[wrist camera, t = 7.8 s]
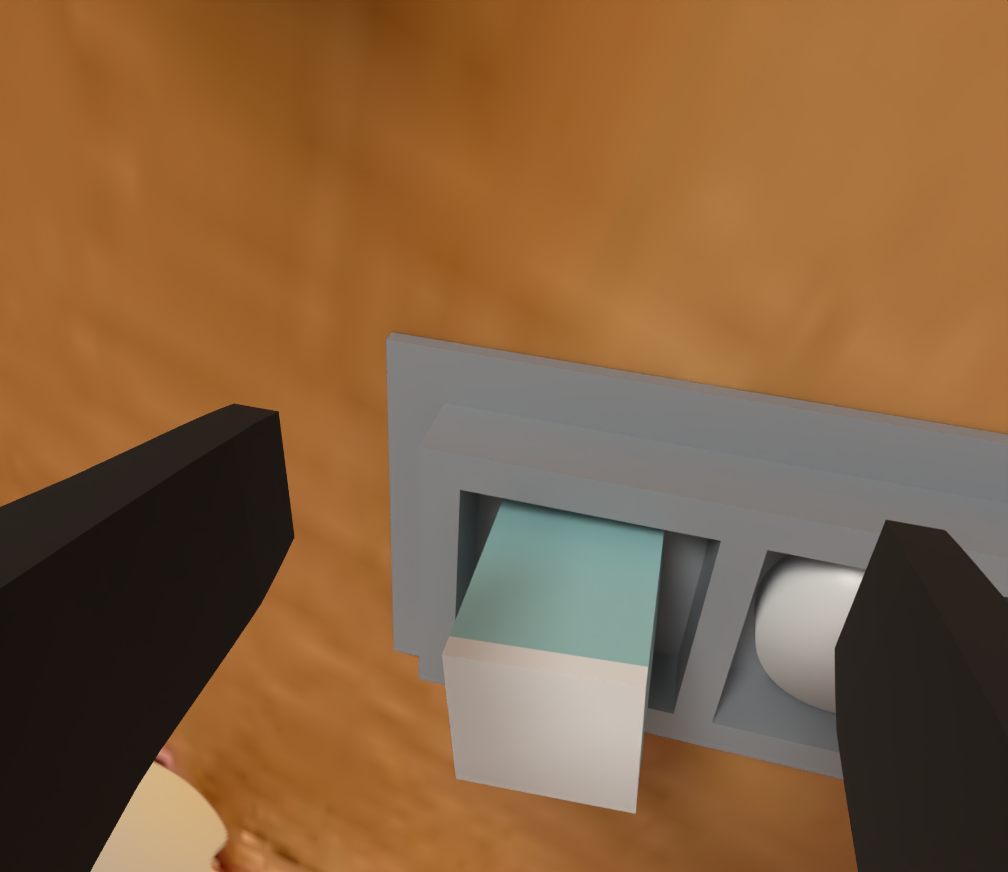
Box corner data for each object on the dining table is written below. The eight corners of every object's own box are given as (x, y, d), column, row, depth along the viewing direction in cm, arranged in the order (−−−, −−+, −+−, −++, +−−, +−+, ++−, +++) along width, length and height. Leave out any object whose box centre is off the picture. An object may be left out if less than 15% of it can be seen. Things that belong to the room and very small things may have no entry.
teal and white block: (667, 497, 20) (646, 687, 15) (658, 614, 22) (635, 813, 17) (510, 480, 21) (441, 654, 16) (515, 594, 23) (455, 778, 18)
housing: (1208, 468, 17) (1283, 554, 15) (999, 779, 23) (1027, 875, 21) (392, 332, 20) (347, 387, 18) (397, 641, 26) (365, 711, 24)
